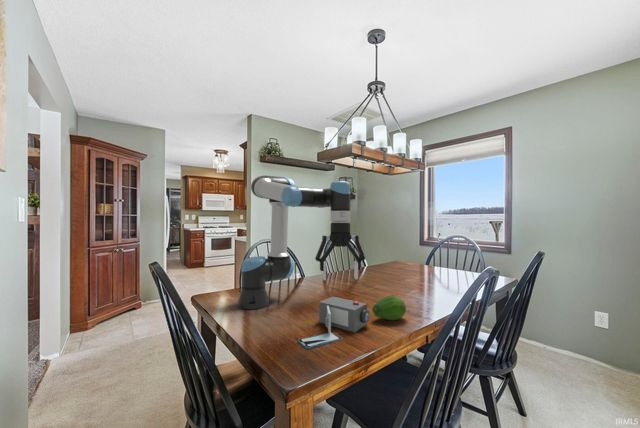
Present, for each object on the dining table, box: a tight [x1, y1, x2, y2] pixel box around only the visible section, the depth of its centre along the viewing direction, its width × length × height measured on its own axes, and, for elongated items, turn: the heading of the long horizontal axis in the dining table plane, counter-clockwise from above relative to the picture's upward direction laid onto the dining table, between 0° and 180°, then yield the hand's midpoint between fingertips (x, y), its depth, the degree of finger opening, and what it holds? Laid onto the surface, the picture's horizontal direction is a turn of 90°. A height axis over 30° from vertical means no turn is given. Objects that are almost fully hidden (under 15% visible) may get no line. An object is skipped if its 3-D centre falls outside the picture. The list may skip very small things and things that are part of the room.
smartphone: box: [297, 331, 343, 350], centre depth 100 cm, size 7×1×15 cm
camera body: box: [318, 296, 370, 333], centre depth 116 cm, size 19×10×9 cm, turn 53°
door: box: [325, 305, 332, 333], centre depth 109 cm, size 10×2×7 cm, turn 3°
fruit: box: [371, 295, 407, 321], centre depth 120 cm, size 15×10×10 cm, turn 107°
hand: (340, 279), depth 107 cm, fingers open, 12 cm apart
